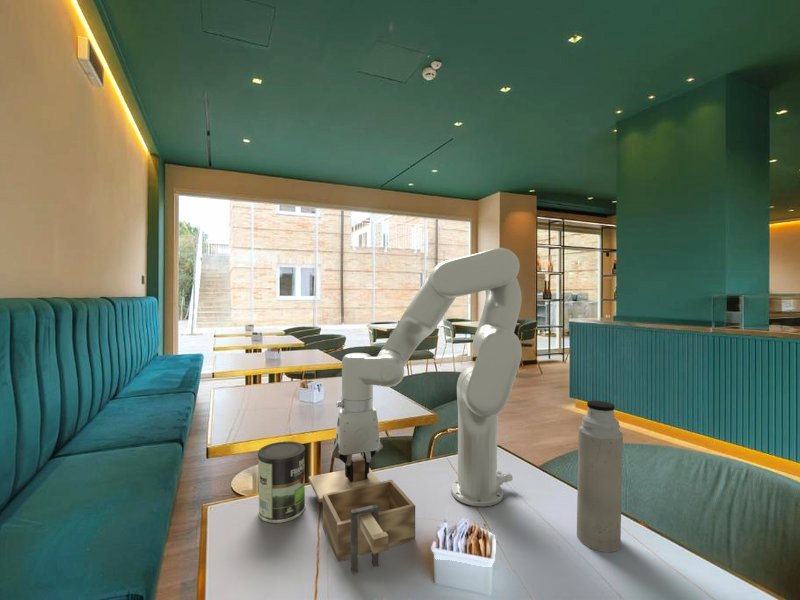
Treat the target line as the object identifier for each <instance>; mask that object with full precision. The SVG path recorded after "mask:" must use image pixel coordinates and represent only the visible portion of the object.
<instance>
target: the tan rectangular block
mask: <svg viewBox="0 0 800 600" xmlns="http://www.w3.org/2000/svg"><path fill="white" fill-rule="evenodd" d="M358 526H359V527H360V529H361V531H362V532H363V534H364V536H365V538H366V539H367V541H368V543H369V544H370V546H371V551H372V552H373V554H376V553H379V554H380V553H382V552H385V551H389V547H388V534H387V533H386V532H383V531H382V529H381V528H380V526H379V525H378V523H377V522H376V520H375V519H374V517H373V516H372V514H371V513H367V514H362V515H358ZM372 552H371V553H372Z"/></svg>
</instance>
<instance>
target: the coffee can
mask: <svg viewBox="0 0 800 600" xmlns="http://www.w3.org/2000/svg"><path fill="white" fill-rule="evenodd" d="M305 453H306V447H305V445H304V444H303V443H301V442H298V441H297V442H296V441H290V440H289V441H287V440H286V441H278V442H272V443H269V444H266V445H265V446H263V447H261V448H260V449H259V450H258V451H257V458H258V459H257V460H258V469H257V470H258V517H259V518H260V519H261V520H262V521H264V522H266V523H270V524H283V523H285V522H290V521H293V520H296V519H297V518H299V517H300V516H301V515H302V514H303V513H304V512H305V509H306V505H305V504H306V503H305V502H306V499H305V498H306V497H305V492H306V491H305V489H306V488H305V487H306V484H305V481H306V480H305V476H306V475H305V473H306V472H305V464H306V463H305V458H306V456H305Z"/></svg>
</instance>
